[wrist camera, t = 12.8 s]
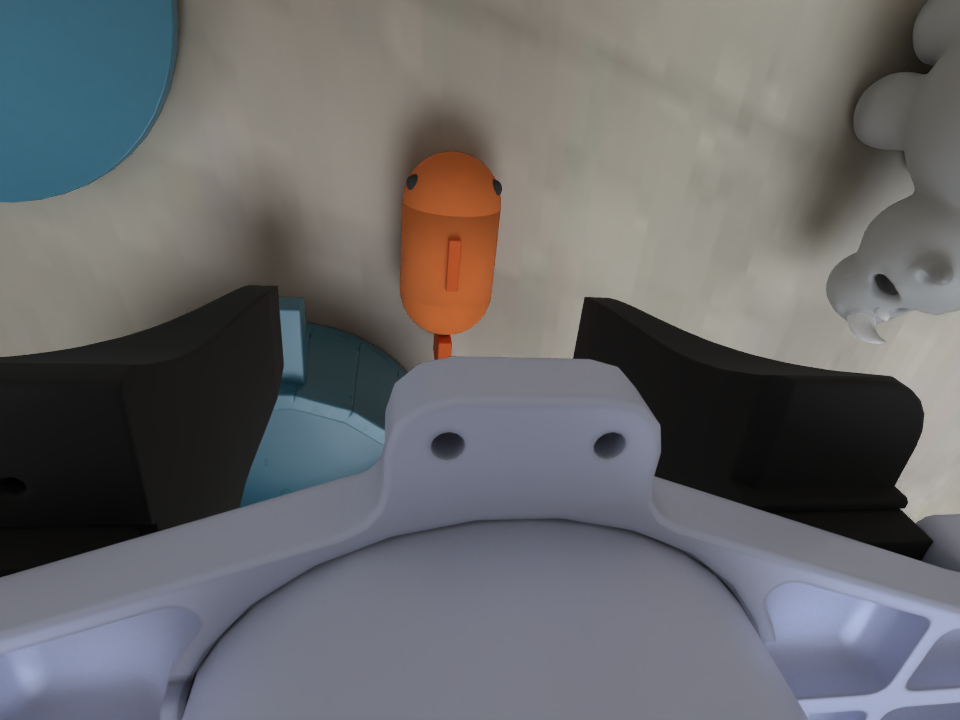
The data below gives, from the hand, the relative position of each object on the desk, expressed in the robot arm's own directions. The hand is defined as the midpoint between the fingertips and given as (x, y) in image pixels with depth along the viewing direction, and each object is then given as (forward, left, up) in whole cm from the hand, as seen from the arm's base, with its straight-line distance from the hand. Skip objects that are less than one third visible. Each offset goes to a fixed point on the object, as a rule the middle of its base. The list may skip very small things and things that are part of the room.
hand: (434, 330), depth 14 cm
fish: (+1, -1, -10) cm, 10 cm away
